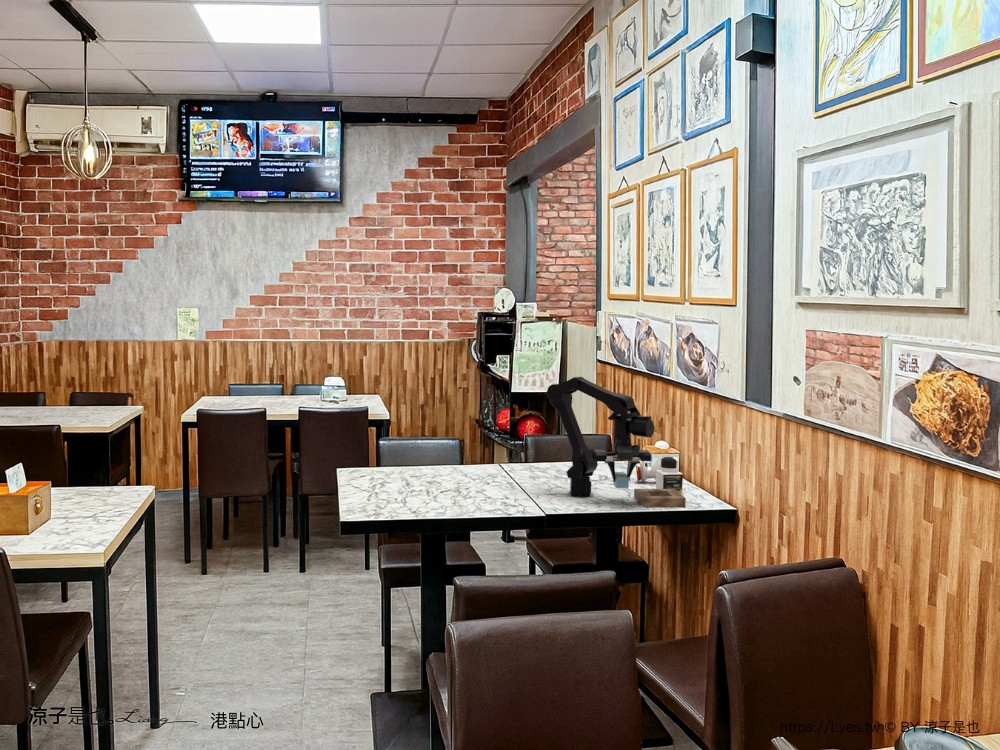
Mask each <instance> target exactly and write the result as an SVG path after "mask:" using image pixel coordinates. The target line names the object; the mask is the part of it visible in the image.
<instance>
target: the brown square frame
mask: <svg viewBox="0 0 1000 750" xmlns="http://www.w3.org/2000/svg"><path fill="white" fill-rule="evenodd" d="M633 490H634V491H633V498H634V497H635V498H636V499H637V500H638V501H637V500H636V499H635V498H634V499H635V500H636V501H637V503H640V504H641V505H642V506H648V507H647V508H686V502H687V501H686V499H687V498H686V497H685V496H684V495H683V494H682V493H681V494H680V493H679V492H678V491H677V490H676V489H656V488H634V489H633ZM640 504H639V505H640ZM641 505H640V506H641ZM642 506H641V507H642Z"/></svg>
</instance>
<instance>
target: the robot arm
mask: <svg viewBox="0 0 1000 750" xmlns="http://www.w3.org/2000/svg"><path fill="white" fill-rule="evenodd" d="M577 391H578V392H581V393H583V394H585V395H587V396H588V397H591V398H593V399H595V400H597V401H599V402H601V403H603V404H604V405H605V406H606V407H607V409H608V410H610V411H611V412H612V413H611V414H610V415H609V417H608V416H607V419H608V420H609V421H613V436H612V438H613V439H612V440H613V441H612V451H609V452H608V451H606V450H605V449H594V448H589V446H587V444H586V442H585V439H584V436H583V433H582V432H581V428H580V426H579V425H580V424H579V423H578V420H577V417H576V414H575V412H574V410H573V406H572V405H573V395H572V394H574V393H576V392H577ZM546 396H547V398H548V400H549V402H550V404H551V405H552V407H554V409H555V410H556V411H557V412H558V414H559V417H560V420H561V423H562V425H563V428H564V430H565V433H566V434H565V435H566V437H567V439H568V442H569V444H570V447H571V450H572V453H571V463H572V466H570V468H569V469H568V470H567V471H566V476H567V478H568V479H570V480H569V481H570V482H569V483H570V484H569V490H568V494H569V495H570V496H571V497H591V494H592V480H591V477H592V476H594V473H595V471H596V469H597V467H598V464H599V463H598V462H604V463H605V464H607V466H608V468H609V471H610V474H611V477H612V482H613V481H614V482H615V472H616V468H615V464H616V463H615V461H614V459H617V460H618V461H619V462H621V461H627V468H626V469H627V470H626V475H627V476H628V477H629V478H630V479H631V477H632V473H633V470H634V469H635V468H636V466H637V465H639V464H640V463H641V462H640V461H642V462H651V461H652V459H653V458H652V453H651V452H650V451H649V450H648V449H640V446H639V445H638V444H632V436H633V437H642V438H652V437H653V436H654V432H655V429H656V428H655V424H654V421H653V420H652V416H651V415H646V416H645V415H641V413H640V410H639V409H638V408H637V406H636V404H635V400H634V398H633V397H632V396H631V395H627V394H623V393H619V392H613V391H610V390H608V389H606V388H604V387H602V386H600V385H598V384H596V383H594V382H593V381H592V382H591V381H590V380H587V379H586V378H584V377H583V376H575V377H572V378H570V379H568V380H565V381H562V382H561V383H556V384H555V383H554V384H551V385H549V386H548V387H547V390H546Z"/></svg>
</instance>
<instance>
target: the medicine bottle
mask: <svg viewBox="0 0 1000 750" xmlns="http://www.w3.org/2000/svg"><path fill="white" fill-rule="evenodd" d="M660 459H661V458H660ZM679 461H680V460H679V458H677V457H675V456H665V457H662V459H661V469H662V470H656V480H655V489H676V490H677V491H678V492H679V493H680V494H681V495H682V494H683V481H684V480H683V477H684V474H683V472H681V471H679V468H680V467H679V464H680V463H679ZM677 470H678V471H677Z"/></svg>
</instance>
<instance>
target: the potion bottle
mask: <svg viewBox="0 0 1000 750" xmlns="http://www.w3.org/2000/svg"><path fill="white" fill-rule="evenodd" d="M662 458H663V457H662ZM662 458H659V459H657V460H656V461H655V462H654V463H653V465H651V466H646V465H645V464H643V463H641V464H640V466H637V465H635V471H636V473H635V474H636V479H637V480H636V481H637V483H639V482H640V481H641V482H642V483H643V482H644V483H645V482H646V481H647V480H650V479H654V480H655V481H656V470H662V469H661V459H662ZM677 471H679V469H678V470H677Z"/></svg>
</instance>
